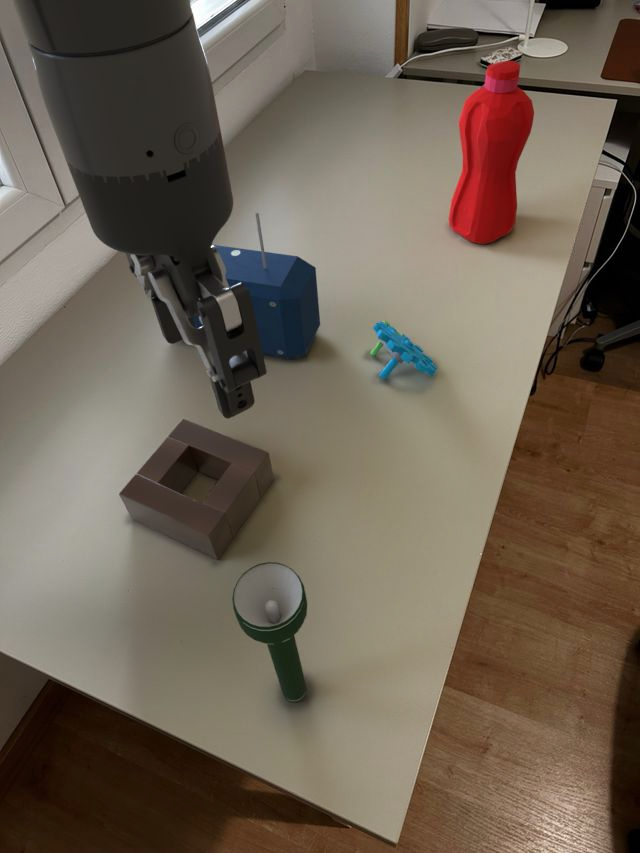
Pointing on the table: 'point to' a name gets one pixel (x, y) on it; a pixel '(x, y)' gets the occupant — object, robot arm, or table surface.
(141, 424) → the table surface
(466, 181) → the water bottle
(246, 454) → the holder
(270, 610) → the flashlight
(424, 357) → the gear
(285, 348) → the radio
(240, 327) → the robot arm
